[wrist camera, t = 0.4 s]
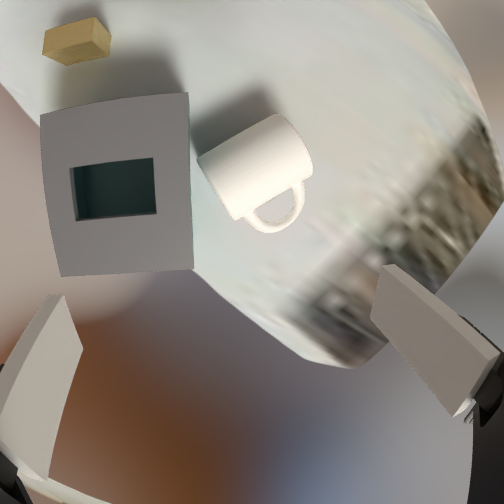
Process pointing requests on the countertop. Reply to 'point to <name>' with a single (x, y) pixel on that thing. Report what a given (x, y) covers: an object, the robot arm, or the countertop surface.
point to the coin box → (119, 185)
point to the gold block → (77, 42)
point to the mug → (259, 170)
